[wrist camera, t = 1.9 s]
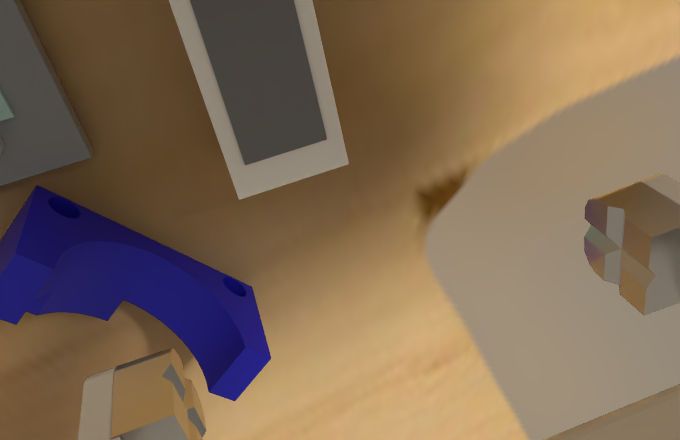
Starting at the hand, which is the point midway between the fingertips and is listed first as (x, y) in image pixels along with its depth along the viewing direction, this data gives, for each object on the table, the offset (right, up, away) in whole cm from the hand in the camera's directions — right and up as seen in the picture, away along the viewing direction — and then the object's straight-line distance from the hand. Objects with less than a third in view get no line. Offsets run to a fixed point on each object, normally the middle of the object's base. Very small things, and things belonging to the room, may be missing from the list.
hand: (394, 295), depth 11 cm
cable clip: (-12, -1, +20) cm, 23 cm away
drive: (-5, +9, +16) cm, 19 cm away
